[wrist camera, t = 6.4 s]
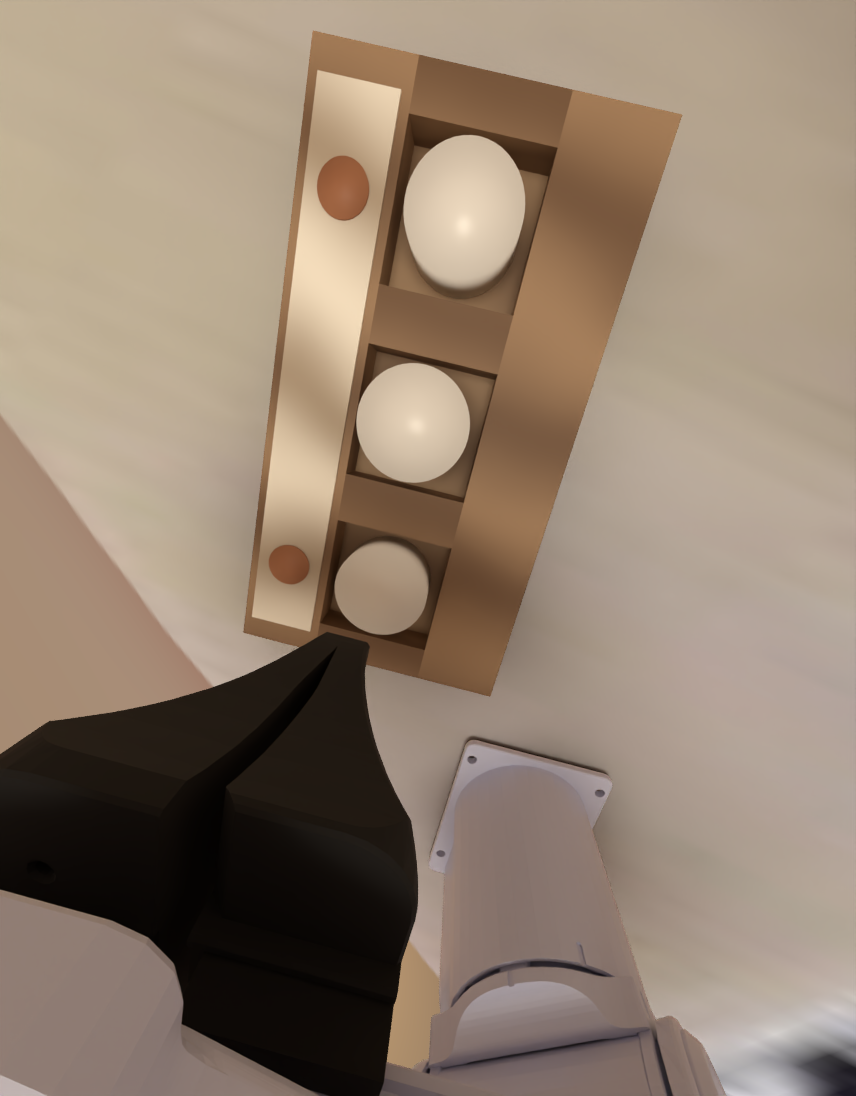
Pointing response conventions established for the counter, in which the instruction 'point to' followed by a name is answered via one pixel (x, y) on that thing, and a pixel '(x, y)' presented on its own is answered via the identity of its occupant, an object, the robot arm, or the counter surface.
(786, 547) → the counter surface
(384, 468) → the middle button
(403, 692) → the counter surface
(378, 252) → the board
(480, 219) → the button
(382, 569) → the button
